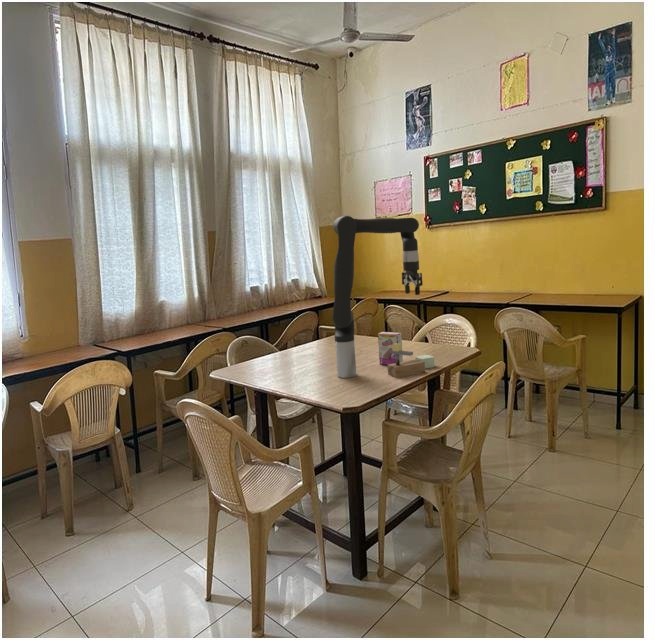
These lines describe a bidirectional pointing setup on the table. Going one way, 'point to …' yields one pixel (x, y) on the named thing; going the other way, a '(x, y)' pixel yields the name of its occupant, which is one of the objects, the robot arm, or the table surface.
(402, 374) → the case
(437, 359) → the table surface
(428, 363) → the pale green block
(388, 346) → the candy bar box
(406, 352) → the key
